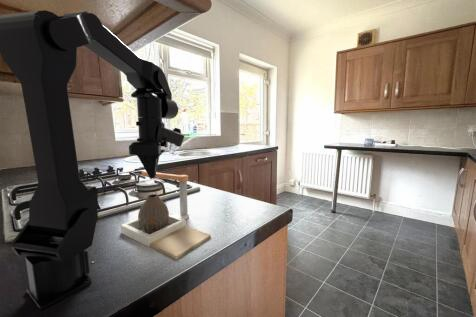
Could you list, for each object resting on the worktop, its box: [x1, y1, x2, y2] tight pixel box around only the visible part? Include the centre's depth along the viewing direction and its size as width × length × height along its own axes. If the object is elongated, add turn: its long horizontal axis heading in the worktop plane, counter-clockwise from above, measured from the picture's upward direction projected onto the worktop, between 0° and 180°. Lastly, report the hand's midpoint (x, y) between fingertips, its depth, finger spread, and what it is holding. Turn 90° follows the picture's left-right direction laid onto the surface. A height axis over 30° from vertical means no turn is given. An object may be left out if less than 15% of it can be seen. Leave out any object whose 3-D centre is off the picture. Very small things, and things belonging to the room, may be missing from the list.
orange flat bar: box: [141, 170, 189, 182], centre depth 62 cm, size 16×3×1 cm, turn 67°
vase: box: [137, 193, 170, 235], centre depth 52 cm, size 7×7×9 cm
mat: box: [149, 225, 212, 260], centre depth 48 cm, size 10×10×1 cm
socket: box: [120, 181, 190, 247], centre depth 54 cm, size 16×11×10 cm
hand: (152, 177), depth 58 cm, fingers closed
